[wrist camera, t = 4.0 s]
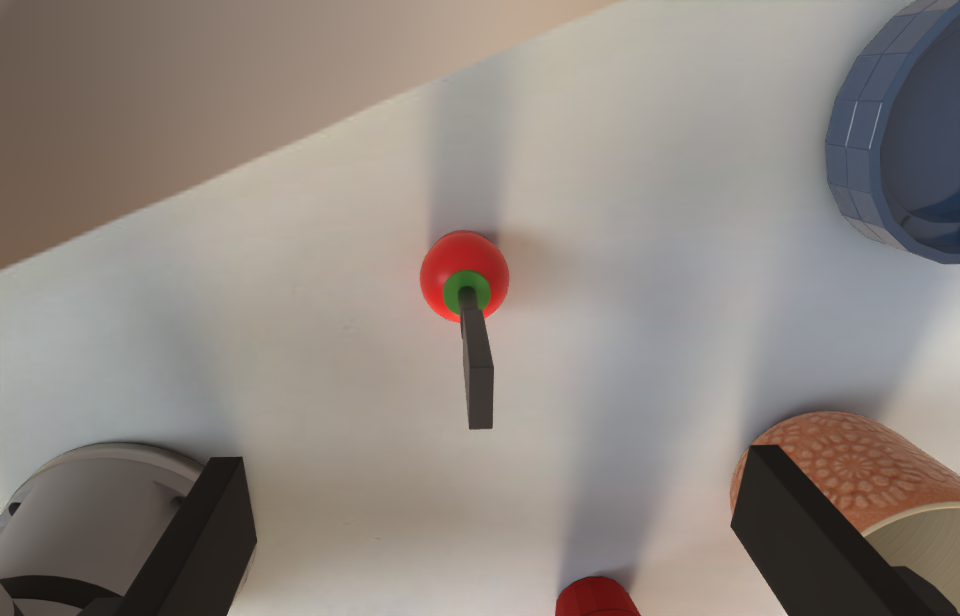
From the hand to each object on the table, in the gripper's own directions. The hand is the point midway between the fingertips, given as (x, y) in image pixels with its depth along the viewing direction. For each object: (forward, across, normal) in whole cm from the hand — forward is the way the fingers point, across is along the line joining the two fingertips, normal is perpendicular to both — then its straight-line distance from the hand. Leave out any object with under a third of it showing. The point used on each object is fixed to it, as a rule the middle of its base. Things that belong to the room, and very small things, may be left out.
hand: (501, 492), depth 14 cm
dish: (+20, +26, +8) cm, 34 cm away
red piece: (+19, 0, 0) cm, 19 cm away
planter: (+20, +23, -15) cm, 34 cm away
